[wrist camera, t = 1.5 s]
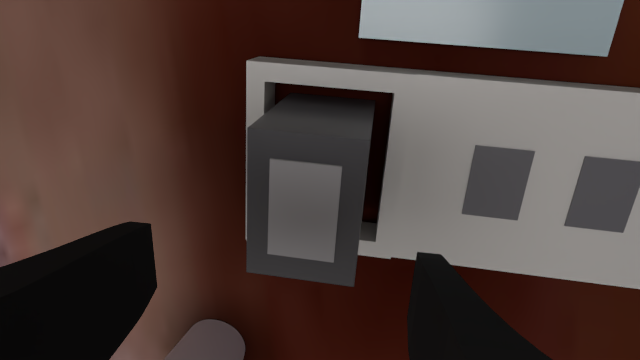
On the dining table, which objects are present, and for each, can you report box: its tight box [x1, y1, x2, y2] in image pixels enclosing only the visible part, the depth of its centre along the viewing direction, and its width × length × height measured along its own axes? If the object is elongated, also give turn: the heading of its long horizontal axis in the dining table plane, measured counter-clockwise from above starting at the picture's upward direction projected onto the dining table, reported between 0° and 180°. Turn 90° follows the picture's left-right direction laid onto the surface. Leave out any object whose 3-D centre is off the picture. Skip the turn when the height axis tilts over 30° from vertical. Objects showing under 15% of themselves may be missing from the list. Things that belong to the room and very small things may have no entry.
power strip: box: [246, 56, 640, 289], centre depth 20 cm, size 18×9×2 cm, turn 86°
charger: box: [247, 93, 375, 287], centre depth 18 cm, size 4×6×7 cm
